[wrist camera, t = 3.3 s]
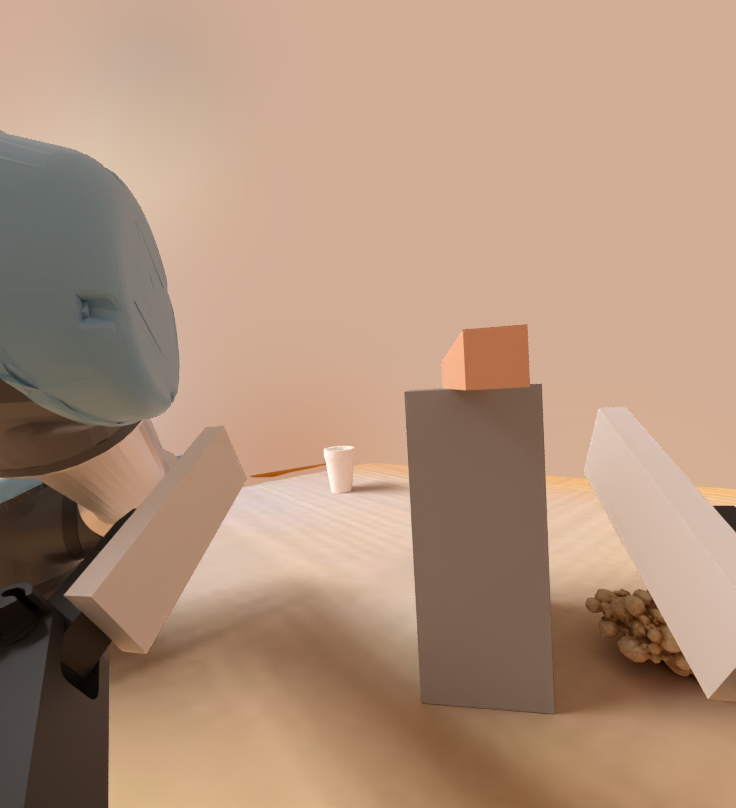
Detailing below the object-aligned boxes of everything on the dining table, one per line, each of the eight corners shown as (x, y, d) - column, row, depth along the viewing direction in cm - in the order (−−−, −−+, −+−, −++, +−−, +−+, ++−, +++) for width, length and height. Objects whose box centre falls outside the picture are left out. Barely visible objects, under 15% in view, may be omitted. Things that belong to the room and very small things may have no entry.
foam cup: (332, 485, 116) (330, 446, 115) (360, 486, 114) (357, 445, 113) (321, 494, 107) (319, 451, 106) (351, 495, 104) (348, 451, 104)
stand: (554, 714, 32) (541, 384, 31) (421, 703, 34) (404, 391, 33) (508, 598, 50) (499, 385, 49) (422, 595, 52) (411, 390, 51)
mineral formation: (817, 727, 30) (615, 692, 33) (705, 642, 43) (568, 623, 46) (808, 624, 31) (612, 601, 34) (701, 572, 44) (567, 558, 47)
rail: (529, 386, 20) (527, 324, 20) (465, 390, 21) (462, 329, 20) (469, 386, 48) (467, 360, 48) (442, 388, 48) (441, 362, 48)
